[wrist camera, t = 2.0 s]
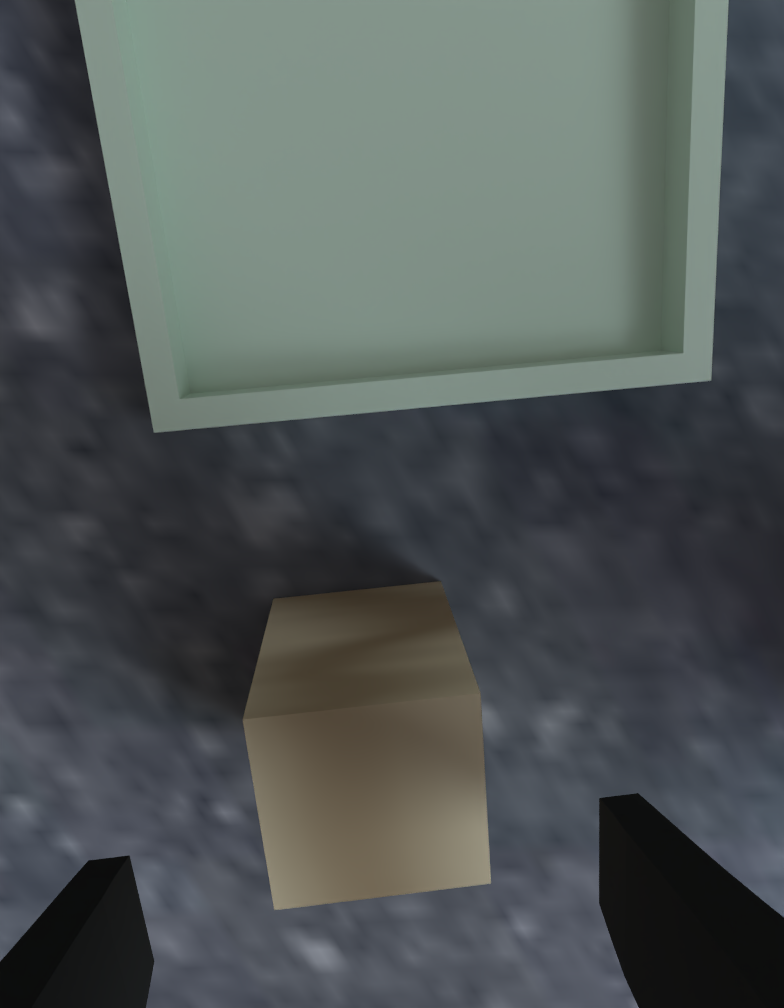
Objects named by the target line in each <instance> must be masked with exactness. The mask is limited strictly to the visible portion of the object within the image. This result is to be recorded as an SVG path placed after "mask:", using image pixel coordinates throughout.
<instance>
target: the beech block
mask: <svg viewBox="0 0 784 1008" xmlns="http://www.w3.org/2000/svg"><path fill="white" fill-rule="evenodd" d="M243 725H244V731H245V737H246V743H247V749H248V755H249V761H250V767H251V773H252V779H253V785H254V791H255V797H256V803H257V809H258V815H259V821H260V827H261V833H262V839H263V845H264V851H265V857H266V863H267V869H268V875H269V881H270V887H271V893H272V899H273V905H274V910H280V909H288V908H296V907H304V906H312V905H320V904H328V903H336V902H345V901H353V900H361V899H369V898H377V897H385V896H393V895H401V894H409V893H418V892H426V891H434V890H442V889H450V888H458V887H466V886H474V885H483V884H491V876H490V857H489V839H488V821H487V803H486V784H485V766H484V748H483V730H482V711H481V693H480V690H479V687H478V685H477V682H476V679H475V676H474V673H473V671H472V668H471V665H470V662H469V659H468V657H467V654H466V651H465V648H464V645H463V642H462V640H461V637H460V634H459V631H458V628H457V626H456V623H455V620H454V617H453V614H452V611H451V609H450V606H449V603H448V600H447V597H446V595H445V592H444V589H443V586H442V583H441V581H438V582H428V583H419V584H409V585H400V586H390V587H381V588H371V589H362V590H352V591H343V592H333V593H324V594H314V595H305V596H295V597H286V598H276V599H273V602H272V606H271V610H270V614H269V618H268V622H267V626H266V630H265V633H264V637H263V641H262V645H261V649H260V653H259V657H258V661H257V665H256V669H255V673H254V677H253V681H252V685H251V689H250V693H249V697H248V700H247V704H246V708H245V712H244V716H243Z"/></svg>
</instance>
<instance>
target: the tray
mask: <svg viewBox="0 0 784 1008" xmlns="http://www.w3.org/2000/svg"><path fill="white" fill-rule="evenodd" d="M728 1H729V0H75V4H76V10H77V15H78V21H79V26H80V32H81V37H82V43H83V48H84V54H85V59H86V64H87V70H88V75H89V81H90V86H91V92H92V97H93V103H94V108H95V114H96V119H97V125H98V130H99V136H100V141H101V146H102V152H103V157H104V163H105V168H106V174H107V179H108V185H109V190H110V196H111V201H112V207H113V212H114V218H115V223H116V228H117V234H118V239H119V245H120V250H121V256H122V261H123V267H124V272H125V278H126V283H127V289H128V294H129V300H130V305H131V310H132V316H133V321H134V327H135V332H136V338H137V343H138V349H139V354H140V360H141V365H142V371H143V376H144V382H145V387H146V392H147V398H148V403H149V409H150V414H151V420H152V425H153V431H154V433H157V432H168V431H178V430H189V429H200V428H210V427H221V426H232V425H242V424H253V423H264V422H274V421H285V420H296V419H306V418H317V417H328V416H339V415H349V414H360V413H371V412H381V411H392V410H403V409H413V408H424V407H435V406H445V405H456V404H467V403H477V402H488V401H499V400H509V399H520V398H531V397H542V396H552V395H563V394H574V393H584V392H595V391H606V390H616V389H627V388H638V387H648V386H659V385H670V384H680V383H691V382H702V381H711V373H712V351H713V329H714V307H715V285H716V263H717V242H718V220H719V198H720V176H721V154H722V132H723V111H724V89H725V67H726V45H727V23H728Z"/></svg>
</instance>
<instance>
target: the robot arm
mask: <svg viewBox="0 0 784 1008" xmlns="http://www.w3.org/2000/svg"><path fill="white" fill-rule="evenodd" d="M599 904H600V907H601V910H602V913H603V916H604V919H605V922H606V925H607V928H608V931H609V934H610V937H611V940H612V943H613V945H614V948H615V951H616V954H617V957H618V959H619V962H620V965H621V968H622V970H623V973H624V976H625V978H626V980H627V983H628V985H629V987H630V989H631V992H632V994H633V996H634V998H635V1000H636V1002H637V1005H638V1007H639V1008H784V917H782V916H781V915H780V914H779V913H777V912H776V911H775V910H774V909H772V908H771V907H770V906H769V905H767V904H766V903H765V902H764V901H763V900H761V899H760V898H759V897H758V896H757V895H755V894H754V893H753V892H752V891H750V890H749V889H748V888H747V887H746V886H744V885H743V884H742V883H741V882H740V881H738V880H737V879H736V878H735V877H733V876H732V875H731V874H730V873H729V872H728V871H726V870H725V869H724V868H723V867H722V866H720V865H719V864H718V863H717V862H716V861H715V860H713V859H712V858H711V857H710V856H709V855H708V854H707V853H705V852H704V851H703V850H702V849H701V848H700V847H699V846H697V845H696V844H695V843H694V842H693V841H692V840H690V839H689V838H688V837H687V836H686V835H685V834H684V833H683V832H681V831H680V830H679V829H678V828H677V827H676V826H675V825H674V824H672V823H671V822H670V821H669V820H668V819H667V818H666V817H665V816H663V815H662V814H661V813H660V812H659V811H658V810H657V809H655V808H654V807H653V806H652V805H651V804H650V803H649V802H647V801H646V800H645V799H644V798H643V797H642V796H640V795H639V794H638V793H637V794H629V795H621V796H613V797H605V798H599ZM153 965H154V958H153V954H152V950H151V945H150V941H149V937H148V933H147V928H146V924H145V920H144V916H143V911H142V907H141V903H140V898H139V894H138V890H137V886H136V881H135V877H134V873H133V869H132V864H131V860H130V856H122V857H114V858H106V859H98V860H89V861H88V862H87V863H86V864H85V865H84V866H83V867H82V869H81V870H80V871H79V872H78V873H77V874H76V875H75V876H74V878H73V879H72V880H71V881H70V882H69V883H68V884H67V886H66V887H65V888H64V889H63V890H62V891H61V892H60V894H59V895H58V896H57V897H56V898H55V899H54V900H53V902H52V903H51V904H50V905H49V906H48V907H47V909H46V910H45V911H44V912H43V913H42V914H41V916H40V917H39V918H38V919H37V920H36V921H35V923H34V924H33V925H32V926H31V927H30V928H29V929H28V931H27V932H26V933H25V934H24V935H23V936H22V937H21V939H20V940H19V941H18V942H17V943H16V944H15V946H14V947H13V948H12V949H11V950H10V951H9V952H8V954H7V955H6V956H5V957H4V958H3V959H2V960H1V961H0V1008H146V1003H147V998H148V993H149V987H150V982H151V976H152V971H153Z"/></svg>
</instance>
